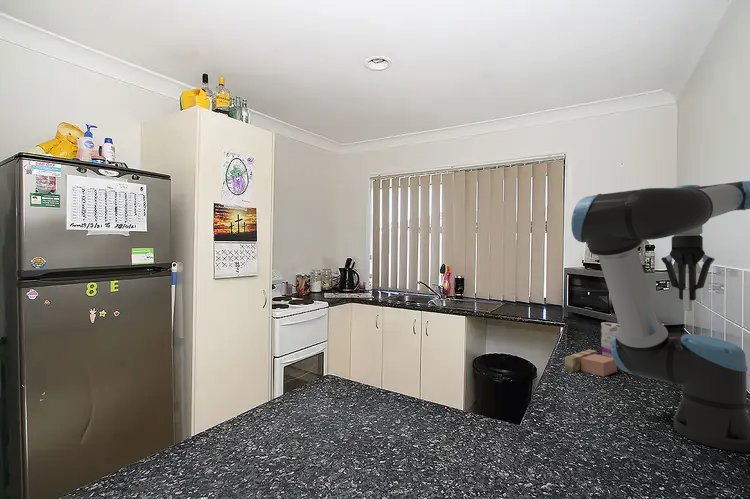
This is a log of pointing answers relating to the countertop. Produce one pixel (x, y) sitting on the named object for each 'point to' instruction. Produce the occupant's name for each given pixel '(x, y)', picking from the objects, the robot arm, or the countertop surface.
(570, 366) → the board
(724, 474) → the countertop surface
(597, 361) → the block
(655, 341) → the robot arm
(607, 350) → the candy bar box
